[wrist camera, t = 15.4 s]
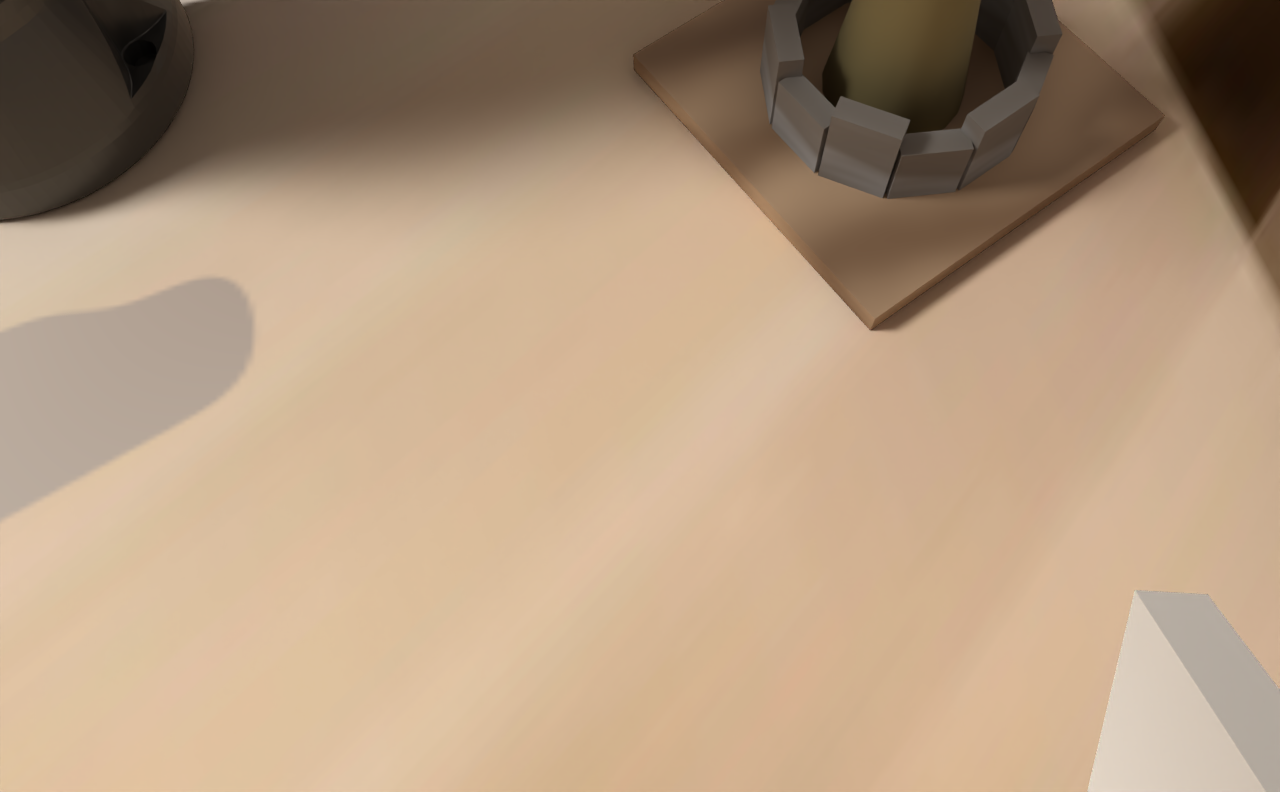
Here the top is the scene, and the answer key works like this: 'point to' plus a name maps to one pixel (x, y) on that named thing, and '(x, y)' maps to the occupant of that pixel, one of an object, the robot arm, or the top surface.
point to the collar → (893, 138)
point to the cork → (904, 58)
